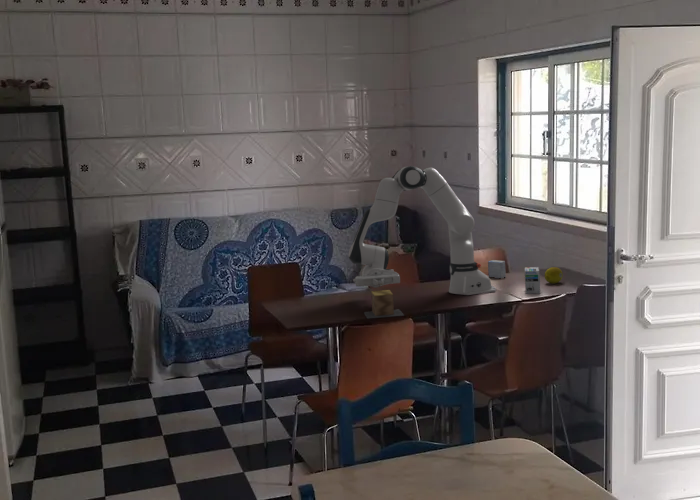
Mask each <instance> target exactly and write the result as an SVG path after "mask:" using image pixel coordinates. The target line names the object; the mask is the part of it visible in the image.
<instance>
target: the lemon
mask: <svg viewBox="0 0 700 500" xmlns="http://www.w3.org/2000/svg"><path fill="white" fill-rule="evenodd" d="M563 275H564V274H563V271H562V270H561V268H559V267H555V266H552V267H549V268H548V269H546V271H545V272H544V280H545V281H546V282H547V283H549V284H551V285H555V284H558V283H560V282H561V281H562V279H563Z"/></svg>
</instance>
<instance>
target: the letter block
mask: <svg viewBox="0 0 700 500" xmlns="http://www.w3.org/2000/svg"><path fill="white" fill-rule="evenodd" d="M370 292H371V312H372V311H373V313H374V314H375V316H380V315H391V314H394V310H395V309H394V294H393V292H392V291H391V290H390V289H384V290H383V289H382V290H372V291H370Z"/></svg>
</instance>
